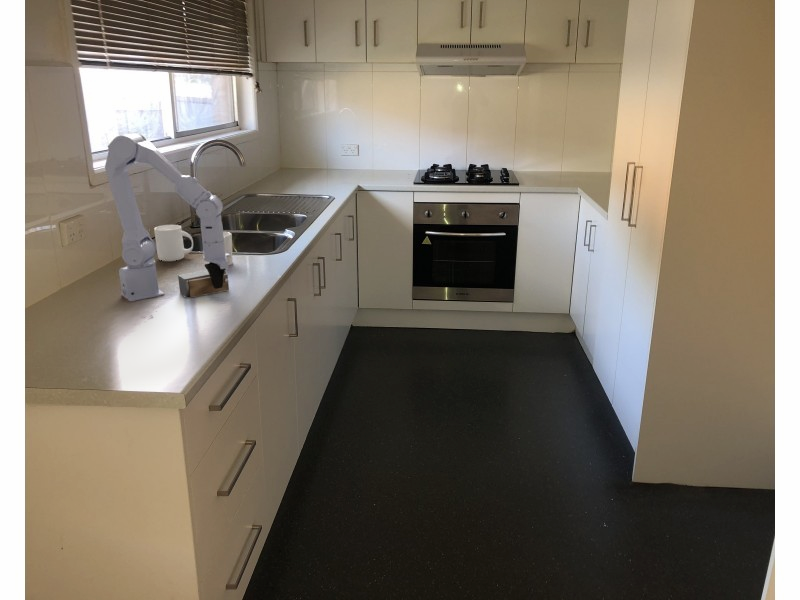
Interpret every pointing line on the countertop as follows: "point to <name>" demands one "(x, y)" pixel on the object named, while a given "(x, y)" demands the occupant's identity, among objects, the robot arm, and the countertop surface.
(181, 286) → the grey long block
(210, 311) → the countertop surface
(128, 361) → the countertop surface
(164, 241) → the mug
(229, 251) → the white cup
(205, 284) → the door
